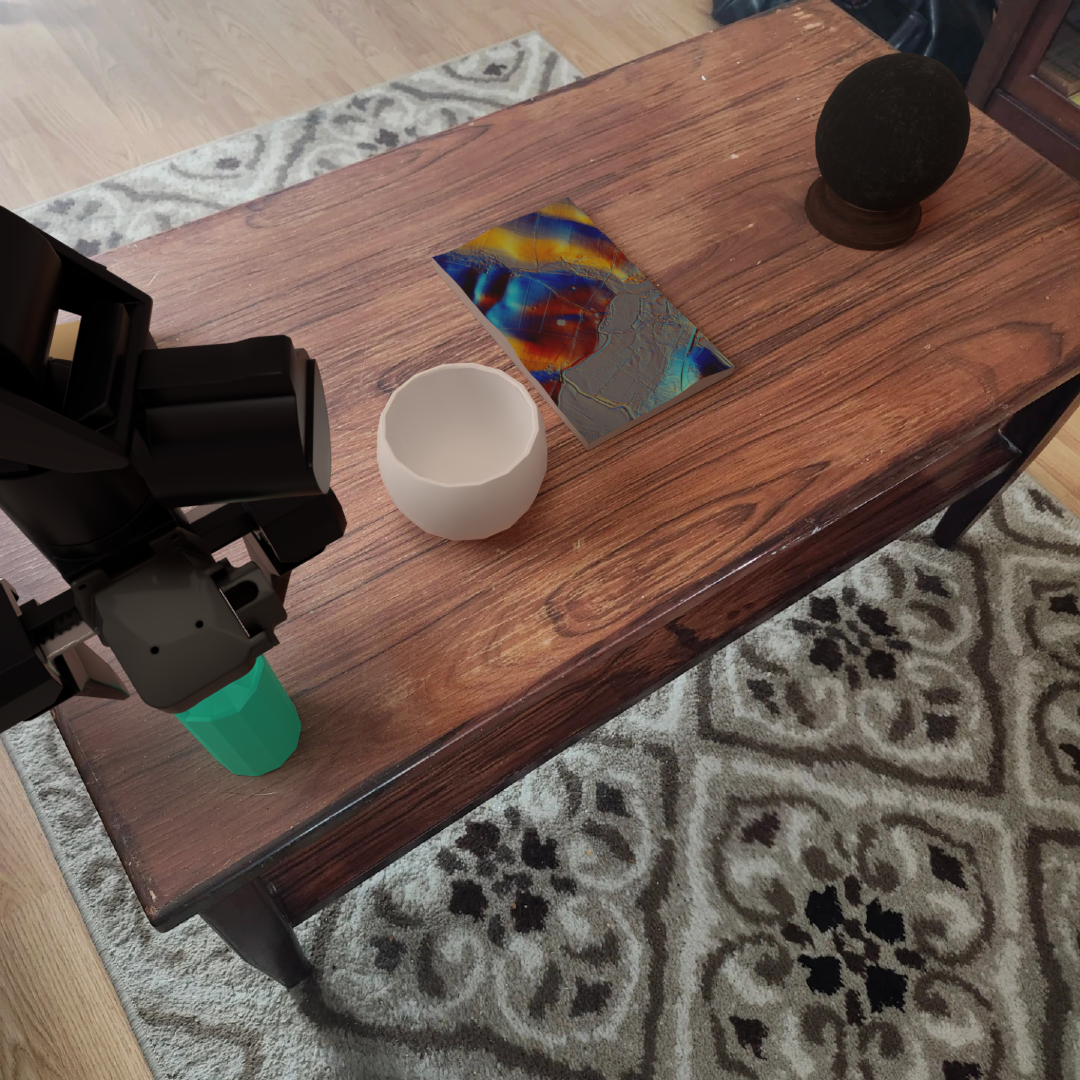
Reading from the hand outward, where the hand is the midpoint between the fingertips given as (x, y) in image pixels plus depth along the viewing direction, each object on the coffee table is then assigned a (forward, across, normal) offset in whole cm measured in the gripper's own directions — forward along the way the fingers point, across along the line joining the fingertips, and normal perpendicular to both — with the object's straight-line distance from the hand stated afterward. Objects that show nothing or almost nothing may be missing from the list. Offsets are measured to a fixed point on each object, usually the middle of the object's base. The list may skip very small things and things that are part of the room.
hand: (202, 645), depth 51 cm
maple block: (+13, +4, +36) cm, 39 cm away
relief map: (+13, +40, +18) cm, 46 cm away
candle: (+13, -1, 0) cm, 13 cm away
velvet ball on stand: (+14, +72, +13) cm, 74 cm away
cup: (+13, +22, +7) cm, 26 cm away
